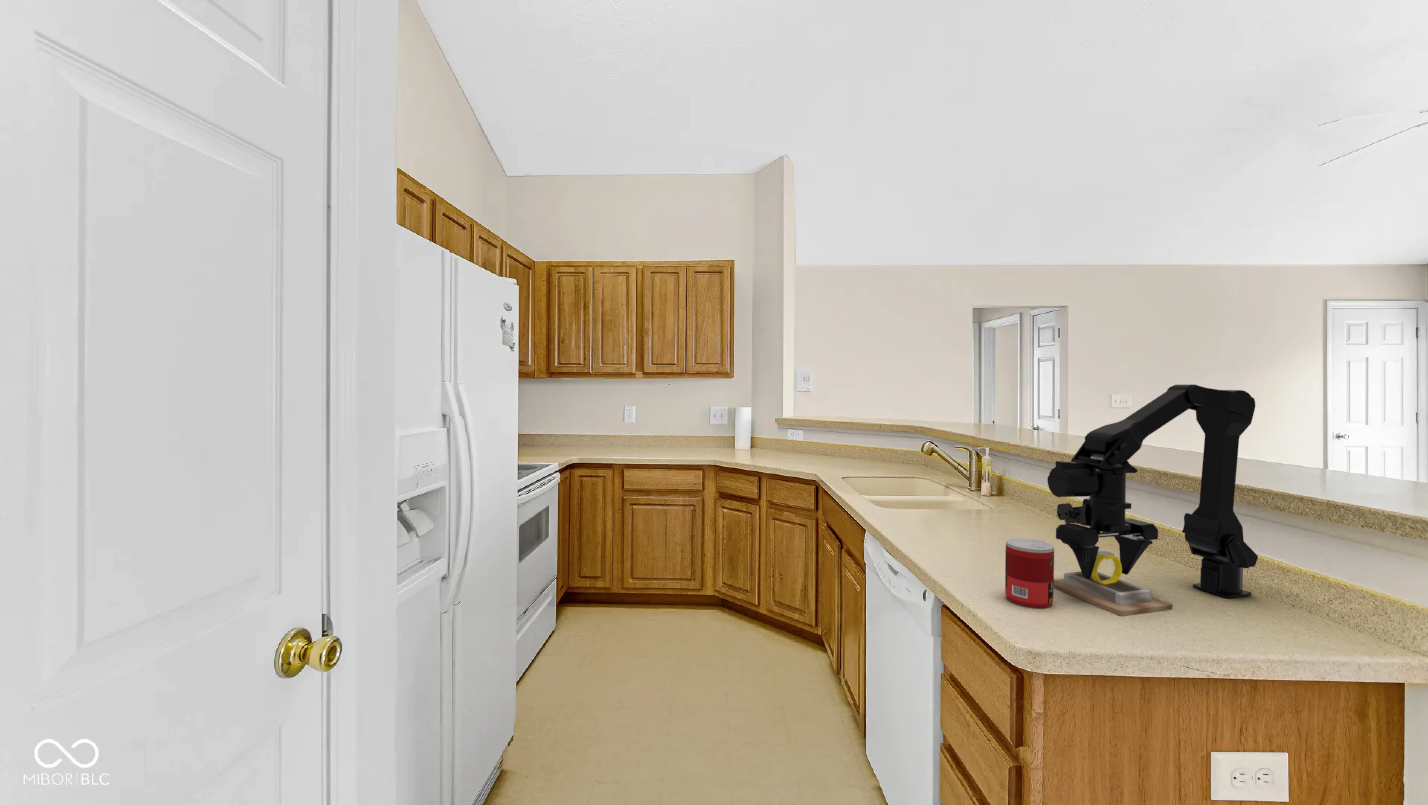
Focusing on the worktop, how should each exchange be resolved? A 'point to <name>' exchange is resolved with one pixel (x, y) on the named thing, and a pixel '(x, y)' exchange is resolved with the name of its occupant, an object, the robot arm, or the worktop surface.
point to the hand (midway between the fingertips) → (1105, 576)
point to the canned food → (1029, 572)
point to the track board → (1111, 594)
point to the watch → (1117, 570)
